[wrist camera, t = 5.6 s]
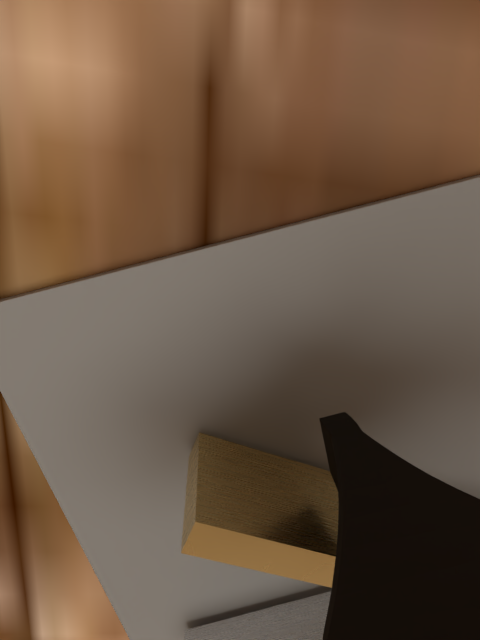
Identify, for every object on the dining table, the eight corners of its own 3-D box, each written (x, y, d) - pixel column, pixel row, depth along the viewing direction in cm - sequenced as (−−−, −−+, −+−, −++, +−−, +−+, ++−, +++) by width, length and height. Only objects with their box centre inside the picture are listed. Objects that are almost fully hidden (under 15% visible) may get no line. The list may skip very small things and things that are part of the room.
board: (570, 150, 11) (596, 146, 10) (551, 577, 17) (567, 594, 16) (-23, 305, 11) (-41, 312, 10) (165, 680, 17) (162, 702, 16)
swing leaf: (199, 432, 12) (193, 549, 8) (515, 526, 14) (637, 652, 10) (173, 493, 12) (155, 631, 8) (480, 573, 15) (581, 709, 11)
